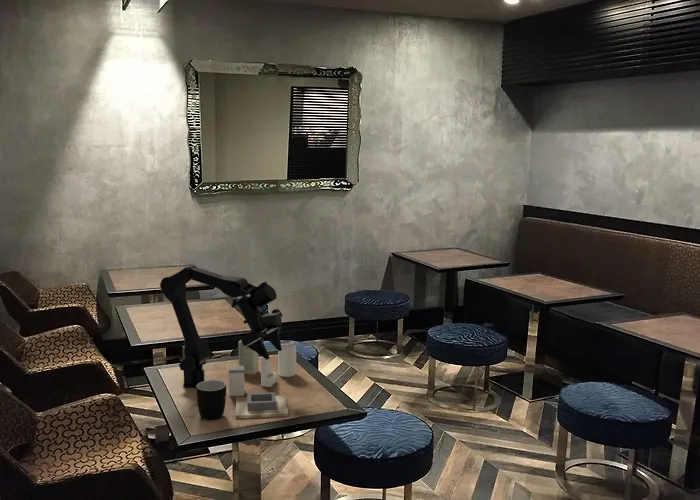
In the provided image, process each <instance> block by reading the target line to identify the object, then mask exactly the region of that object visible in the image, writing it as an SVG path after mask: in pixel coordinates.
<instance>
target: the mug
mask: <svg viewBox="0 0 700 500" xmlns="http://www.w3.org/2000/svg"><path fill="white" fill-rule="evenodd" d="M195 388H196V389H195V392H196V402H197V408H198V413H199V416H200V418H201V419H202V420H204V421H209V422H210V421H216V420H217V421H218V420H219V419H221V418H222V417H223V415H224V412H225V408H226V401H227V383H226V382H225V381H223V380H220V379H219V380H218V379H209V380H208V379H207V380H205V381H203V382H200V383H198V384H197V386H196V387H195Z"/></svg>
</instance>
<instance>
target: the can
mask: <svg viewBox="0 0 700 500" xmlns="http://www.w3.org/2000/svg"><path fill="white" fill-rule="evenodd" d="M280 343H281V347H282V350H281V351H278V350H277V351H278V355H277V357H278V358H277V359H278V360H277V363H278V371H277V372H278V376H280V377H281V378H292V377H295V376H296V374H297V346H296V342H295V341H293V340H283V341H280Z"/></svg>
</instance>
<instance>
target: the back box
mask: <svg viewBox="0 0 700 500" xmlns="http://www.w3.org/2000/svg"><path fill="white" fill-rule="evenodd" d="M276 396H277V395H276V392H252V393H251V392H250V393H249V392H248V393H247V395H246V397H247V411H257V410H276Z"/></svg>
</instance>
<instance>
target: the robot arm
mask: <svg viewBox="0 0 700 500" xmlns="http://www.w3.org/2000/svg"><path fill="white" fill-rule="evenodd" d="M191 280H192V281H195V282H198V283H201V284H202V285H203V284H204V285H207V286H210V287H213V288H215V289H218V290H220V291H221V292H222V293H223V294H224V295H226V296H228V297H229V298H232V299H233V300H232V303H231V308H232V309H234V308H235V307H238V309H239V311H240V313H241V315H242V317H243V319H244V320H243V324H244V325H246V324H247V325H248V327H249V329H250V331H249V332H248V334H247V335H246V334H245V335H244V336H243V337H241V339H240V340H241V343H242V344H243V346H246V345H248V344H249V345H248V346H247V348H250V349H252V350H253V351H255V352H257V353H258V356H261V358H263V359H266V360H268V361H269V359H270V354H269V353H268V350H267V347H266V346H265V344H264V343H265V342H264V341H265V338H266V339H267V341H269V343H271V345H272V346H273V347H274V348H275V349H276V350H277V351H281V350H282V347H281V343H280V342H281V339H280V331H281V329H282V325H283V323H282V322H283V320H282V318H283V316H284V315H283V313H282V312H281V309H279V308H275V309H272V311H271V312H269V313H266V311H264V310H261V309H260V308H263V307H265V306H266V305H268V304H270V303H273V301H275V300H277V297H278V296H277V292H276V290H275V288H274V287H273V286H271V285H270V284H268V283H267V281H264V282H261V283H260V284H259V285H258V286H256V285H253V284H252V283H251V282H248V280H247V279H246V278H245V277H241V276H240V277H239V276H226V275H223V274H218V273H215V272H213V271H209V270H206V269H204V268H201V267H197V266H196V265H193V264H192V265H189V266H185V267H183V268H182V269H181V270H179V271H178V272H176V273H174V274H172V275H169V276H168V275H167V276H165V277H163V278H162V279H161V281H160V283H159V287H160V290H161V291H162V294H163V296H164V298H165V299H167V300H168V301H169V302H170V303H171V306H172V308H173V310H174V313H175V316H176V319H177V322H178V326H179V327H180V330H181V334H182V337H183V339H184V349H183V351H184V352H183V353H184V359H183V360H182V361H180V363H179V364H178V366H179V369H180V371H183V384H182V387H183V388H196V386H197V384H198V383H200V382H203V381H206V380H205V378H206V377H205V375H206V374H205V369H203V367H204V366H205V365H206V363H207V361H208V360H209V358H210V356H211V350H212V349H211V348H210V347H209V343H208V340H207V339H204V340H203V339H202V338H201V337H200V335H199V332H198V329H197V327H196V324H195V322H194V319H193V316H192V313H191V310H190V306H189V304H188V301H187V298H186V296H187V289H188V288H187V284H188V282H190V281H191ZM248 295H249V296H248ZM239 297H240V298H239ZM263 335H264V336H263Z"/></svg>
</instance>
